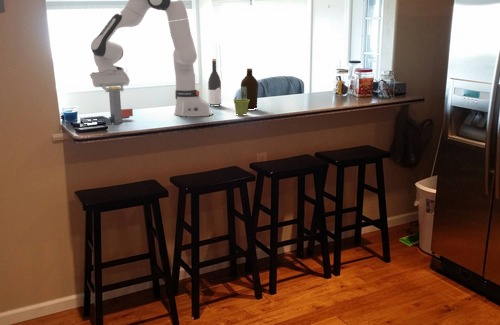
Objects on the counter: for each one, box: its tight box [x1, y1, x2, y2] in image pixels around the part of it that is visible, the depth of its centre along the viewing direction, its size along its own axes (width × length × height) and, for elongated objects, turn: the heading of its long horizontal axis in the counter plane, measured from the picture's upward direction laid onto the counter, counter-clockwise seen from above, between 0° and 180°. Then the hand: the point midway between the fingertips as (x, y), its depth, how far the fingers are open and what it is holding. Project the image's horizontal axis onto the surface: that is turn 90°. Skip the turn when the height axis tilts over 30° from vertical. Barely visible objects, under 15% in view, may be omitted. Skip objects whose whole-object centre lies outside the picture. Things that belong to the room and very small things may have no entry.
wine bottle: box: [207, 58, 222, 105], centre depth 316 cm, size 8×8×30 cm
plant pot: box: [233, 98, 250, 116], centre depth 282 cm, size 9×9×9 cm
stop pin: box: [108, 86, 123, 125], centre depth 253 cm, size 4×4×19 cm
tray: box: [80, 115, 112, 125], centre depth 256 cm, size 12×12×2 cm
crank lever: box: [108, 108, 134, 120], centre depth 262 cm, size 13×4×5 cm, turn 125°
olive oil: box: [240, 68, 259, 109], centre depth 300 cm, size 11×11×25 cm
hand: (115, 91), depth 272 cm, fingers open, 7 cm apart
